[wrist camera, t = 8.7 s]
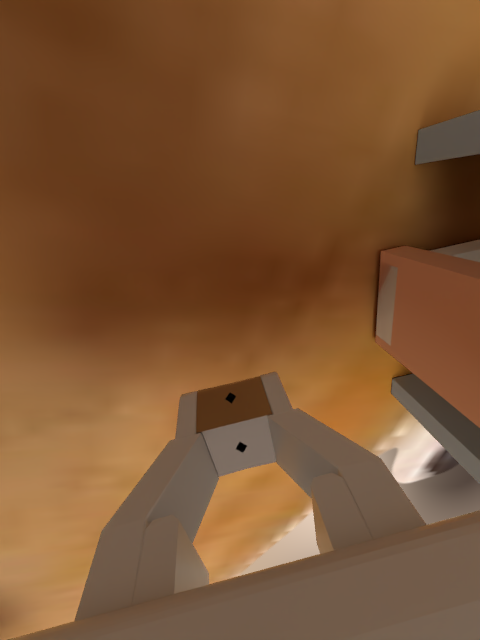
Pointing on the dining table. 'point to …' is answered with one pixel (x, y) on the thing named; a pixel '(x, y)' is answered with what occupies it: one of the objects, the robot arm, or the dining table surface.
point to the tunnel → (417, 397)
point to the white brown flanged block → (434, 318)
